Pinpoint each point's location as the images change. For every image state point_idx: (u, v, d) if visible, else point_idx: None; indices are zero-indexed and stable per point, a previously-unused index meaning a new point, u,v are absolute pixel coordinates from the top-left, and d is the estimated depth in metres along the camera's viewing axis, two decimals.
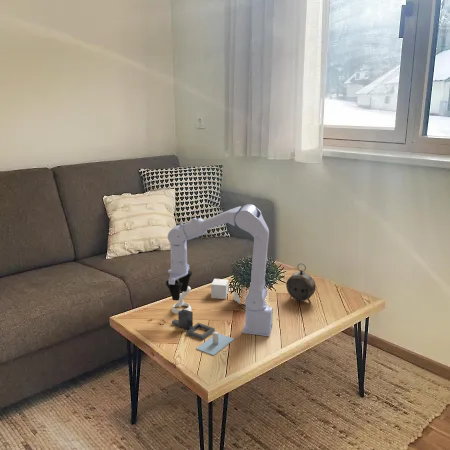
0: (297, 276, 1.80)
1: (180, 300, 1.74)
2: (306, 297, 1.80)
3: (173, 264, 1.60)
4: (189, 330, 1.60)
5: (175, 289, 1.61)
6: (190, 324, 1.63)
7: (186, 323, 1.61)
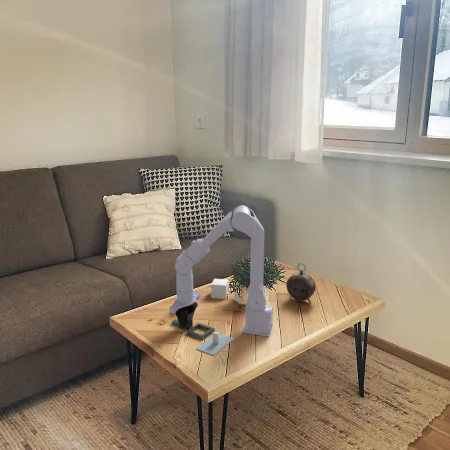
0: (297, 276, 1.80)
1: None
2: (306, 297, 1.80)
3: (178, 293, 1.59)
4: (189, 330, 1.60)
5: (181, 315, 1.61)
6: (190, 324, 1.63)
7: (186, 323, 1.61)
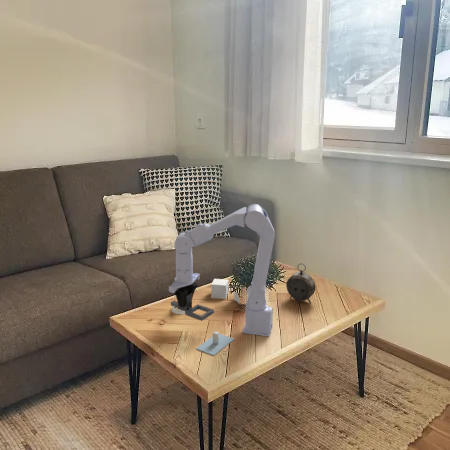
0: (297, 276, 1.80)
1: None
2: (306, 297, 1.80)
3: (177, 272, 1.56)
4: (188, 311, 1.58)
5: (181, 295, 1.58)
6: (189, 305, 1.61)
7: (185, 304, 1.59)
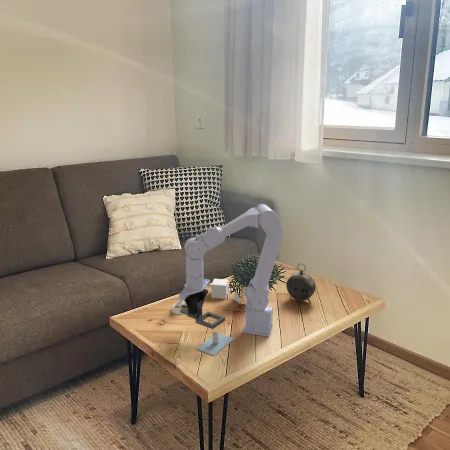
0: (297, 276, 1.80)
1: (180, 300, 1.74)
2: (306, 297, 1.80)
3: (187, 279, 1.51)
4: (198, 319, 1.53)
5: (191, 303, 1.53)
6: (199, 313, 1.56)
7: None
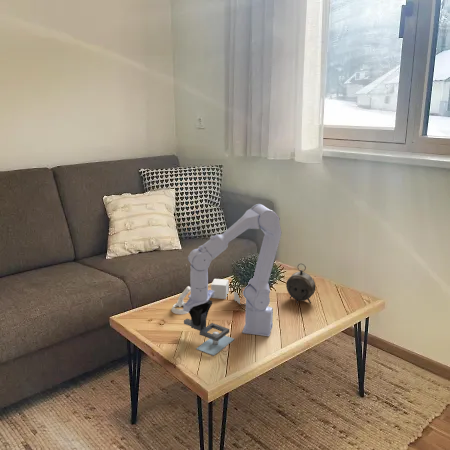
0: (297, 276, 1.80)
1: (180, 300, 1.74)
2: (306, 297, 1.80)
3: (192, 290, 1.50)
4: (203, 330, 1.52)
5: (195, 314, 1.52)
6: (203, 324, 1.55)
7: None
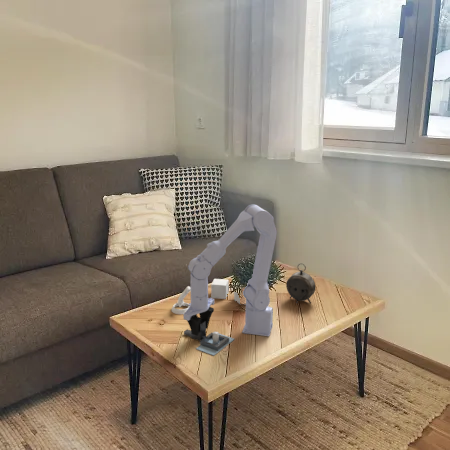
0: (297, 276, 1.80)
1: (180, 300, 1.74)
2: (306, 297, 1.80)
3: (192, 299, 1.51)
4: (203, 340, 1.53)
5: (194, 323, 1.52)
6: (203, 334, 1.56)
7: (199, 333, 1.54)
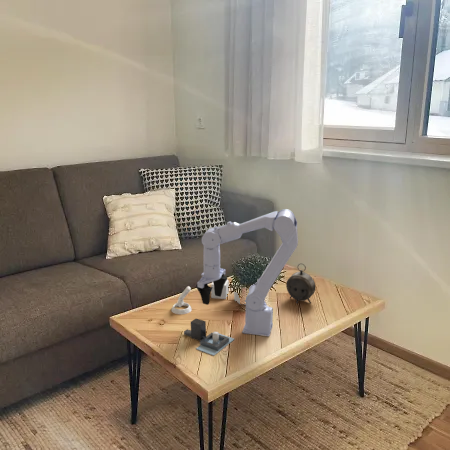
0: (297, 276, 1.80)
1: (180, 300, 1.74)
2: (306, 297, 1.80)
3: (205, 268, 1.58)
4: (203, 340, 1.53)
5: (205, 293, 1.58)
6: (203, 334, 1.56)
7: (199, 333, 1.54)
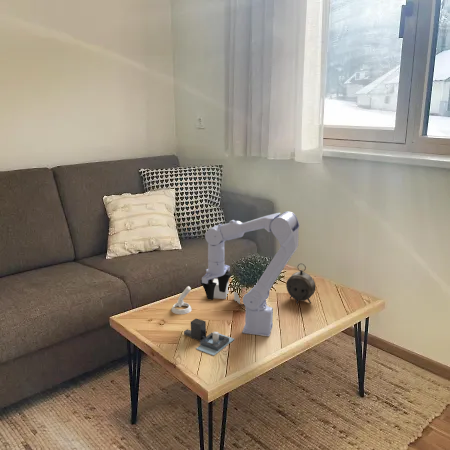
0: (297, 276, 1.80)
1: (180, 300, 1.74)
2: (306, 297, 1.80)
3: (209, 264, 1.61)
4: (203, 340, 1.53)
5: (209, 288, 1.62)
6: (203, 334, 1.56)
7: (199, 333, 1.54)
